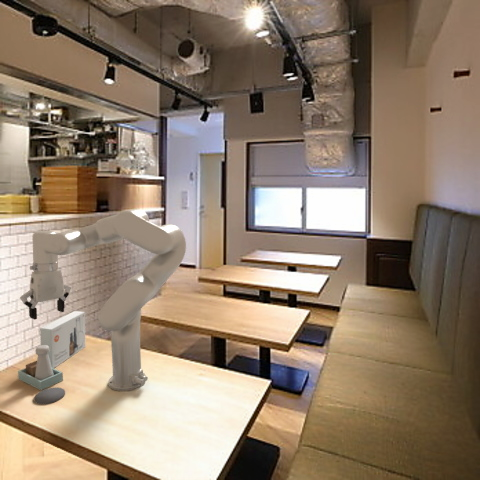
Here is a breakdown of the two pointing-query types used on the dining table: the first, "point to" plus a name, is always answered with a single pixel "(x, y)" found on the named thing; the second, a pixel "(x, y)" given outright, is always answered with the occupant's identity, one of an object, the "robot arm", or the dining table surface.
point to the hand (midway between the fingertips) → (47, 314)
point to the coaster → (49, 395)
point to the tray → (38, 383)
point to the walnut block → (31, 368)
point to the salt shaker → (43, 363)
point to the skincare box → (64, 337)
